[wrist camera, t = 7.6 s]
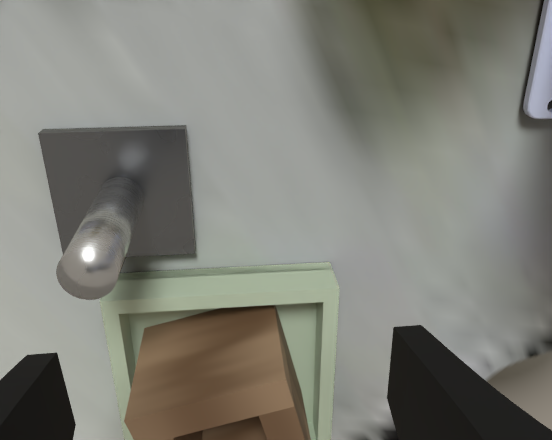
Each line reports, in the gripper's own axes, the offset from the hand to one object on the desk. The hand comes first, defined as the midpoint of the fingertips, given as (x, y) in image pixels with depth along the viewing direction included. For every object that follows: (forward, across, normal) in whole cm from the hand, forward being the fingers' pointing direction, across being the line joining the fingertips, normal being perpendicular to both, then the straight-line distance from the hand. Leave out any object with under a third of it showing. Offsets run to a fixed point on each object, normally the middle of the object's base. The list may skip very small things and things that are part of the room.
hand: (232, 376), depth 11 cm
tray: (+10, +1, +8) cm, 12 cm away
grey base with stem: (+10, +4, 0) cm, 11 cm away
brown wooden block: (+9, +1, +7) cm, 12 cm away
